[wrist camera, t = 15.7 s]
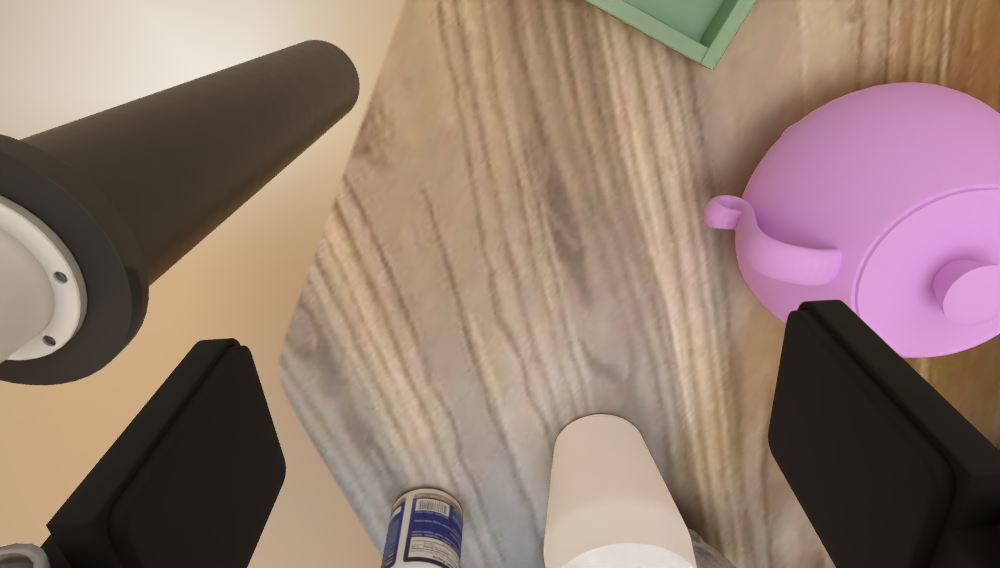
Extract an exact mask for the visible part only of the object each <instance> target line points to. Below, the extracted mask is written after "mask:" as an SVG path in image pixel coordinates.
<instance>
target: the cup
mask: <svg viewBox="0 0 1000 568" xmlns="http://www.w3.org/2000/svg"><path fill="white" fill-rule="evenodd" d="M544 562H545V568H697V565H696V561H695V556H694V552H693V547H692V542H691V538H690V534H689V532H688V529H687V527H686V525H685V523H684V521H683V519H682V517H681V515H680V513H679V511H678V508H677V506H676V504H675V502H674V500H673V498H672V496H671V494H670V492H669V490H668V488H667V486H666V484H665V482H664V480H663V478H662V476H661V474H660V472H659V470H658V468H657V466H656V464H655V462H654V460H653V458H652V456H651V454H650V452H649V450H648V448H647V446H646V444H645V442H644V440H643V438H642V436H641V434H640V432H639V431H638V430H637V428H636V427H635V426H634V425H633V424H631V423H630V422H628V421H627V420H625V419H623V418H620V417H617V416H613V415H606V414H597V415H590V416H586V417H582V418H580V419H577V420H575V421H573V422H572V423H570V424H569V425H567V426H566V427H565V428H564V429H563V430H562V431H561V432H560V434H559V435H558V437H557V439H556V442H555V446H554V454H553V463H552V472H551V482H550V491H549V500H548V509H547V518H546V527H545V537H544Z"/></svg>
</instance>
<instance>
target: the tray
mask: <svg viewBox="0 0 1000 568" xmlns="http://www.w3.org/2000/svg"><path fill="white" fill-rule="evenodd" d="M584 1H586V2H588V3H590V4H591V5H593V6H595V7H597V8H599V9H601V10H602V11H604V12H606V13H608V14H610V15H611V16H613V17H615V18H617V19H619V20H620V21H622V22H624V23H626V24H628V25H629V26H631V27H633V28H635V29H637V30H638V31H640V32H642V33H644V34H646V35H648V36H649V37H651V38H653V39H655V40H657V41H658V42H660V43H662V44H664V45H666V46H667V47H669V48H671V49H673V50H675V51H676V52H678V53H680V54H682V55H684V56H685V57H687V58H689V59H691V60H693V61H695V62H696V63H698V64H700V65H702V66H704V67H706V68H708V69H710V70H714V68H715V66H716V65H717V63H718V61H719V60H720V58H721V57H722V55H723V53H724V52H725V50H726V49H727V47H728V45H729V44H730V42H731V41H732V39H733V37H734V36H735V34H736V33H737V31H738V29H739V28H740V26H741V24H742V23H743V21H744V20H745V18H746V16H747V15H748V13H749V12H750V10H751V8H752V7H753V5H754V4H755V2H756V0H584Z"/></svg>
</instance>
